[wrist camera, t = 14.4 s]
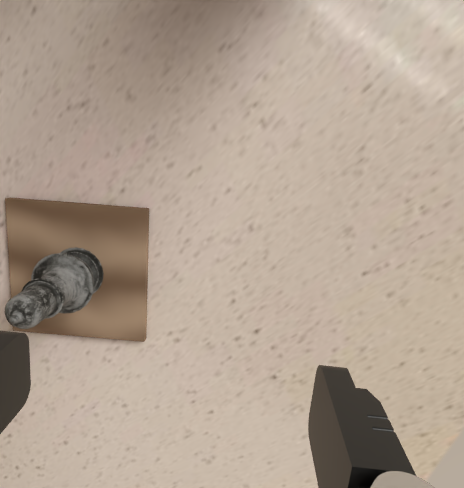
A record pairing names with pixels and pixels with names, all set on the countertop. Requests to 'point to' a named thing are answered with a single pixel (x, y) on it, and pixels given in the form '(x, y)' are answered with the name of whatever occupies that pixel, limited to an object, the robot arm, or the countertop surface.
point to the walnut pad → (98, 243)
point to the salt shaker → (56, 287)
